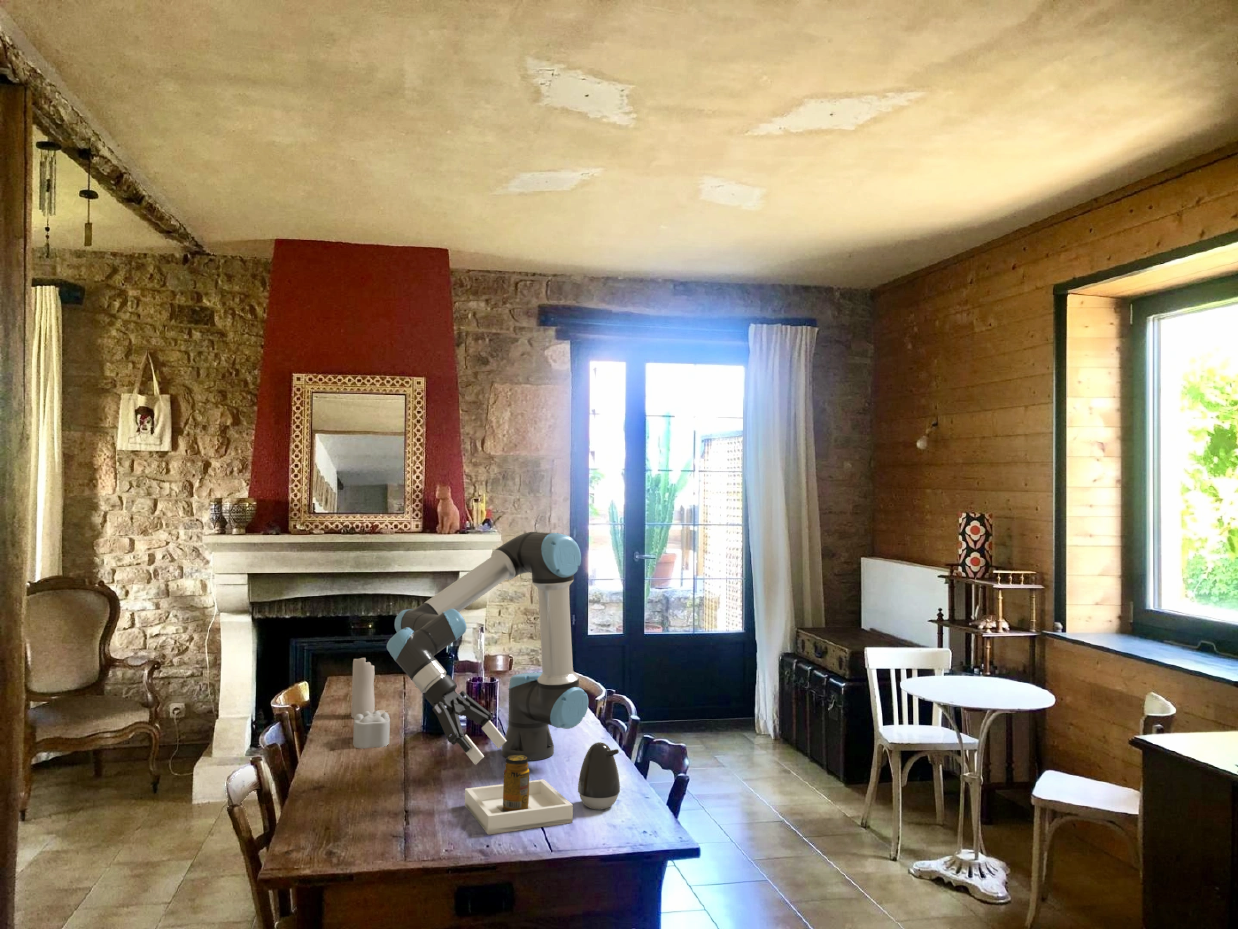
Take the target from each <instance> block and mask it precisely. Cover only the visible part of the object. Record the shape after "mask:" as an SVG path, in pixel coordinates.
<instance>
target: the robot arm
mask: <svg viewBox="0 0 1238 929" xmlns="http://www.w3.org/2000/svg"><path fill="white" fill-rule="evenodd" d="M581 561H582V553H581V549H580V547H579V544H578V543H577V541H575V540H574V538H572V537H571V536H569V535H567V534H562V533H559V532H543V531H542V532H541V531H539V532H538V531H528V532H525V533H522V534H519V535H517V536H514V538H512V539H510V540H509V541H506V542H505V543H504V544H502V545H500V546H499V547H497V548H496V549H495V550H493V551H492V552H491V555H490V557H489V558H487V559H486V560H485V561H483V562H482V563H480V564H479V565H478V566H475V567H474V568H473V569H471V570H470V571H469V572H467V573H466V574H464V575H462V576H460V578H458V579H457V580H455V581H454V582H453V583H451V584H449V585H448V586H446V587H445V588H444V589H442V590H440V591H439V592H438V593H436V594H434V596H432V597H431V598H429V599H427V600H426V601H425V602H423V603H422V604H420V605H418V606H417V607H415V608H413V609H412V608H409V609H404V610H401V611H400V612H399V613H398V614H397V615H396V617H395V619H394V629H395V631H396V633H395V634H393V636H392V637H390V638H389V640H388V641H387V643H386V650H387V651H388V652H389V654H390V656H391V657H392V658H393V660H394V661H395V662H396V663H397V664H398V666H399V667H400V668H401V670H402V671H403V672H404V673H405V674H406V675H407V676H408V678H409V679H410V680H411V681H412V682H413V684H414V685H415V688H418V690H419V692H420V693H422V694H423V693H424V698H425V699H426V700H427V702H428V703H430V704H429V705H431V706H432V712H434V714H435V715H436V717H437V718H438V719H437V720H438V721H439V724H440V726H441V727H442V730H443V733H444V735H445V737H446V739H447V741H448V742H449V743H451V744H452V746H455V745H456V744H458V745H459V747H460V748H461V749H462V750H463V752H464V753H465V754H466V756H467V757H468V758H469V759H470V761H471V762H472V763H473V764H474V765H475V766H476V765H477V764H478V763H479V762H481V760H482V759H484V757H485V756H484V754H483V753H482V752H481V750H480V749H479V747H477V745H476V744H475V743H474V742H473V741H472V739H471V738H470V737H469V736H468V734H465V735H464V731H463V730H464V729H463V727H462V724H461V723H462V722H461V720H460V716H461V717H462V716H464V717H466V718H468V719H470V720H471V721H473V722H475V723H477V724H478V725H480V726H482V727H481V730H482V731H483V732H484V733H485V735H487V737H488V738H489V739H490V740H491V742H492V743H493V744H494V745H495V747H496V748H497V749H500V748H501V755H502V757H504V758H505V759H506V758H507V757H509V756H512V755H522V756H526V757H527V758H528V761H539V760H545V759H548V758H550V757H552V756H553V755H554V753H555V752H554V751H555V745H554V742H553V737H552V734H551V731H550V727H549V725H550V726H552V727H554V728H555V729H556V728H557V729H563V730H569V729H573V728H575V727H577V726H578V725H579V724H581V722H582V720H583V719H584V718H585V717H586V715H587V713H588V712H587V711H588V709H589V708H588V707H589V697H588V694H587V692H585V690H584V689H583V688H581V687H580V677H579V675H578V674H577V673H576V672H575V671H574V667H573V666H574V664H573V646H572V627H571V626H572V625H571V607H570V606H571V605H570V604H571V603H570V591H569V590H570V586H571V584H572V583H573V582H574V581H575V578H574V574H576V573H577V572H578V571H579V567H580V566H581V564H582V562H581ZM528 573H531V582H532V584H533V585H534V586H535V587H536V588H537V590H538V591H537V592H538V593H537V596H538V613H539V631H540V632H539V633H540V647H541V648H540V651H541V652H540V654H541V671H538V672H537V671H536V672H535V671H534V672H525V673H523V672H522V673H517V674H514V675H512V676H511V677H510V679H509V685H508V688H507V689H508V722H507V723H508V724H507V729H506V732H505V735H504V736H503V734H502V733H501V732H500V730H499V729H498V728H497V727H496V726H495V725H494V723H493V722H492V721H491V720H492V719H493V715H492V713H490V712H489V711H488V710H487V709H486V708H484V707H483V706H482V705H480V704H479V702H477V701H476V700H474V699H473V698H472V697H471V696H469V695H468V694H467V693H466V692H465V690H461V691H460V693H458V692H456V689H457V686H458V684H457V683H456V682H455V681H454V679H453V678H452V677H451V676H450V674H449V675H448V674H447V671H446V669H445V668H444V667H443V666H442V664H441V663H440V662H439V661H438V659H437V658H436V657H434V656H435V655H437V654H438V653H440V652H441V651H442V650H444V649H445V648H447V647H448V646H449V645H451V644H453V643H454V642H455V641H458V639H459V638H461V636H463V635H464V634H465V633H466V631H467V623H466V620H465V618H464V617H463V615H462V614H461V613H460V612H462V611H463V610H464V609H465V608H467V607H468V606H469V605H471V604H473V603H474V602H476V601H477V600H478V599H480V598H482V597H483V596H484V595H486V594H488V593H489V592H490V591H492V589H494V588H496V587H497V586H499V584H501V583H502V582H504V581H505V580H508V581H509V580H510V581H511V580H513V579H514V578H516V577H517V576H519V575H522V574H528ZM551 755H552V756H551Z"/></svg>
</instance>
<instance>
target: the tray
mask: <svg viewBox="0 0 1238 929" xmlns="http://www.w3.org/2000/svg"><path fill="white" fill-rule="evenodd" d="M503 784H504V783H502V784H492V785H483V786H477V787H476V786H475V787H469V788H465V790H464V791H465V792H464V806H465V808H466V809H467V810H468V811H469V813H470V814H471V815H472V816H473V818H474V819H475V820H476V821H477V822H478V824H479V825H480V827H481V828H482V829H483V830H484V831H485V833H486V834H487V835H488V836H490V835H496V834H503V833H509V832H517V831H522V830H528V829H537V828H543V827H552V826H557V825H566V824H573V820H574V819H573V818H574V817H573V816H574V815H573V814H574V805H573V804H572V803H571V802H570V801H569V800H567V798H566V797H565V796H563V795H562V794H561V793H560V792H559V791H558V790H557V789H556V788H555V787H553V785H552V784H550V783H549V782H548V781H546V780H545V779H537V780H535V779H534V780H529V803H528V806H529V807H530V808H532V809H525V810H517V811H509V812H501V811H500V810H499V809H498V808H497V805H503Z"/></svg>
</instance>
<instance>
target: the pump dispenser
mask: <svg viewBox="0 0 1238 929" xmlns="http://www.w3.org/2000/svg"><path fill="white" fill-rule="evenodd" d="M619 752H620V750H619V749H617V748H615V749H611V748H610V747H609V745H608V744H606V743H605V742H594V743H593V744H591V746H590V747H589V748H588V750H587V751H586V754H585V756H584V759H583V761H582V764H581V769H580V772H579V777H578V784H577V785H578V786H577V792H578V795H579V797H580V800H581V802H582V804H584V805H585V806H586V807H587V808H589V809H592V810H597V809H601V810H606V809H608V808H610V807H612V806H613V805H614V804H615V802H616V801H617V799H618V797H619V794H620V792H621V784H620V775H619V770H618V765H617V762H616V759H615V755H618V754H619Z"/></svg>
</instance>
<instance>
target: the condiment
mask: <svg viewBox="0 0 1238 929" xmlns="http://www.w3.org/2000/svg"><path fill="white" fill-rule="evenodd" d="M528 762H529V760H528V758H527V757H526V756H522V755H512V756H509V757H507V758H506V757H505V768H504V770H503V783H502V784H503V805H497V808H498V809H499V810H500V811H501V812H509V811H517V810H525V809H532V808H530V807H529V806H528V803H529V781H530V779H531V778H530V769H529V763H528Z"/></svg>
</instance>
